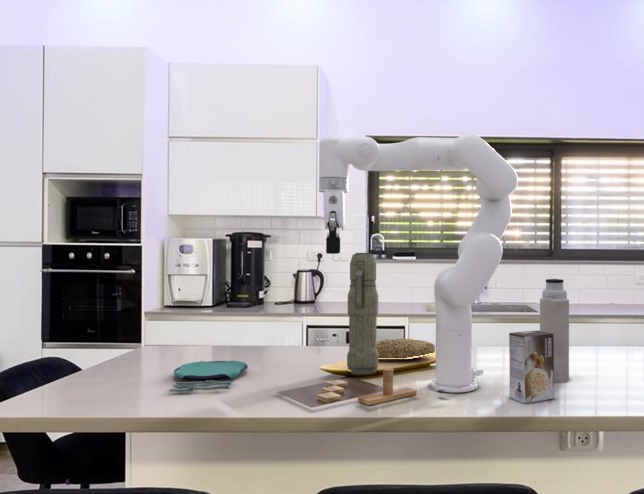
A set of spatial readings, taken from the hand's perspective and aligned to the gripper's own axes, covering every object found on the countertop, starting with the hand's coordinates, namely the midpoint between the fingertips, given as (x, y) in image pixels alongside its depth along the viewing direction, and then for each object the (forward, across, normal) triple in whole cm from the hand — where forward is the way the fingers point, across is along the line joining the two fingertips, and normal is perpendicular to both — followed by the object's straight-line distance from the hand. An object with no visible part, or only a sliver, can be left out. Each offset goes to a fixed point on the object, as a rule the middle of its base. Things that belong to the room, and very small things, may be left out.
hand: (333, 253), depth 142 cm
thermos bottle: (+35, +7, -62) cm, 71 cm away
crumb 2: (+34, -4, 0) cm, 35 cm away
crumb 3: (+34, -10, 0) cm, 36 cm away
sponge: (+35, +37, -22) cm, 56 cm away
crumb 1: (+34, +2, -1) cm, 34 cm away
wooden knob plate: (+35, -11, -14) cm, 39 cm away
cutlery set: (+36, +16, +35) cm, 52 cm away
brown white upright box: (+35, -11, -49) cm, 61 cm away
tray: (+35, -3, -1) cm, 35 cm away
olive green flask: (+36, +18, -8) cm, 41 cm away
